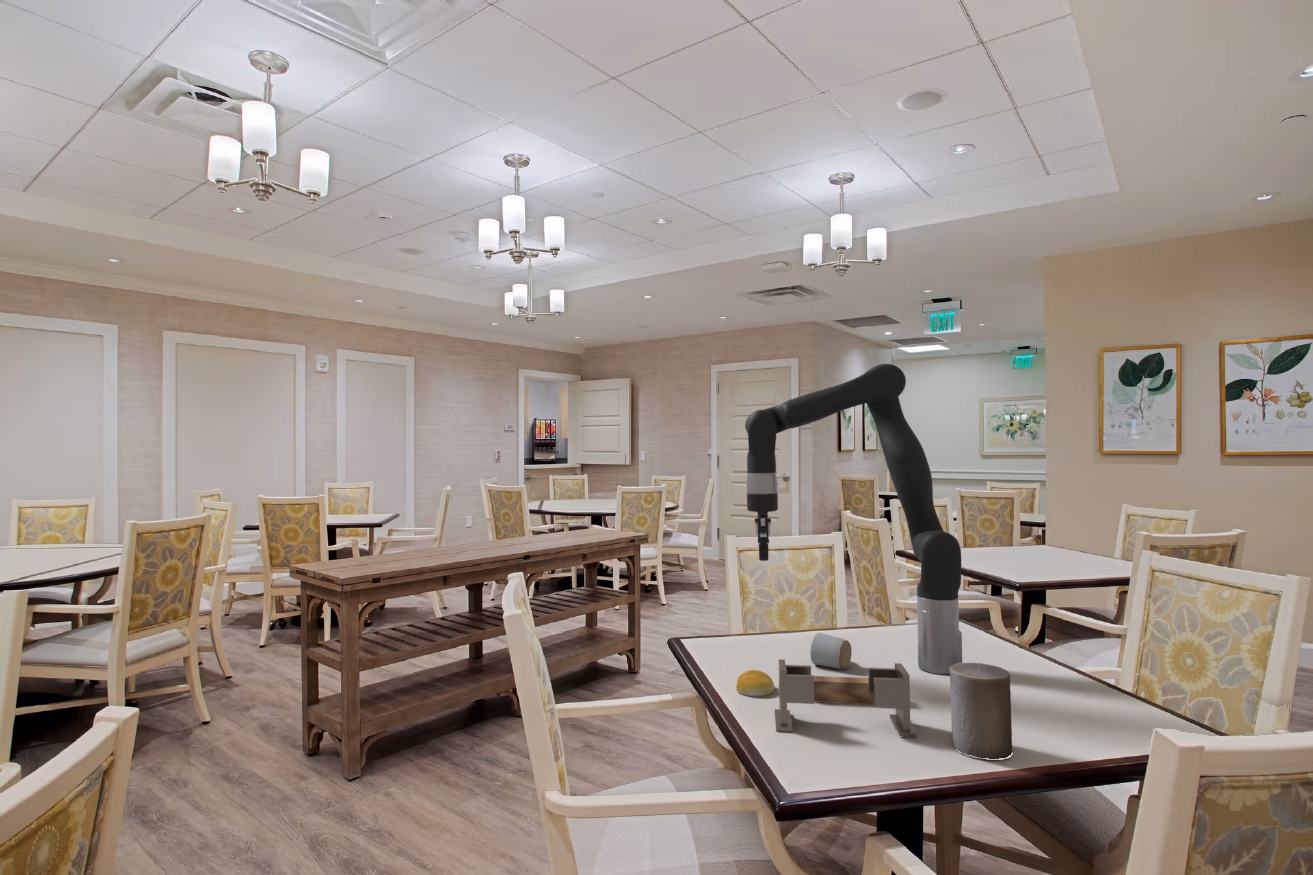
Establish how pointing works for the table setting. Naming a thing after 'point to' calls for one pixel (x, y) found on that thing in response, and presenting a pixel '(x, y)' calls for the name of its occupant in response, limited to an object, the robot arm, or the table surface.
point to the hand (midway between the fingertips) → (763, 557)
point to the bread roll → (754, 684)
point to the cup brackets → (883, 689)
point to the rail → (841, 689)
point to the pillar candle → (981, 710)
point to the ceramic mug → (830, 651)
